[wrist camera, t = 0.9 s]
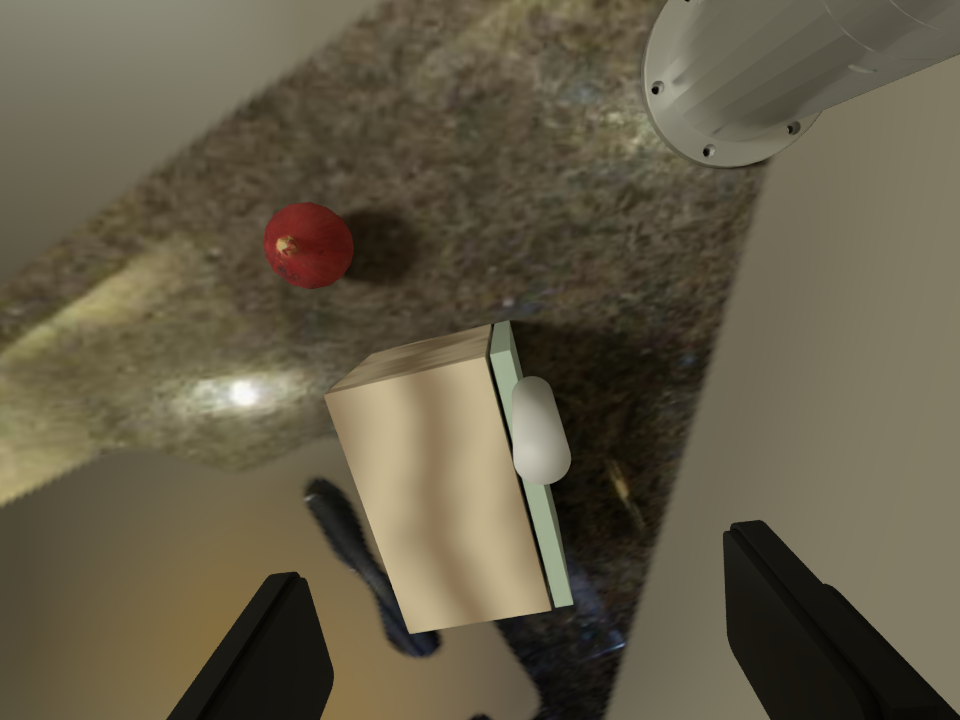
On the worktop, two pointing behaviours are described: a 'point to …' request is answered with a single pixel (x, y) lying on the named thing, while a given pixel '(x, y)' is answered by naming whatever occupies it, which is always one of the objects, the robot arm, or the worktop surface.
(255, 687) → the robot arm
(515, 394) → the cupboard door
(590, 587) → the worktop surface
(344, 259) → the onion
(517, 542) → the cupboard
